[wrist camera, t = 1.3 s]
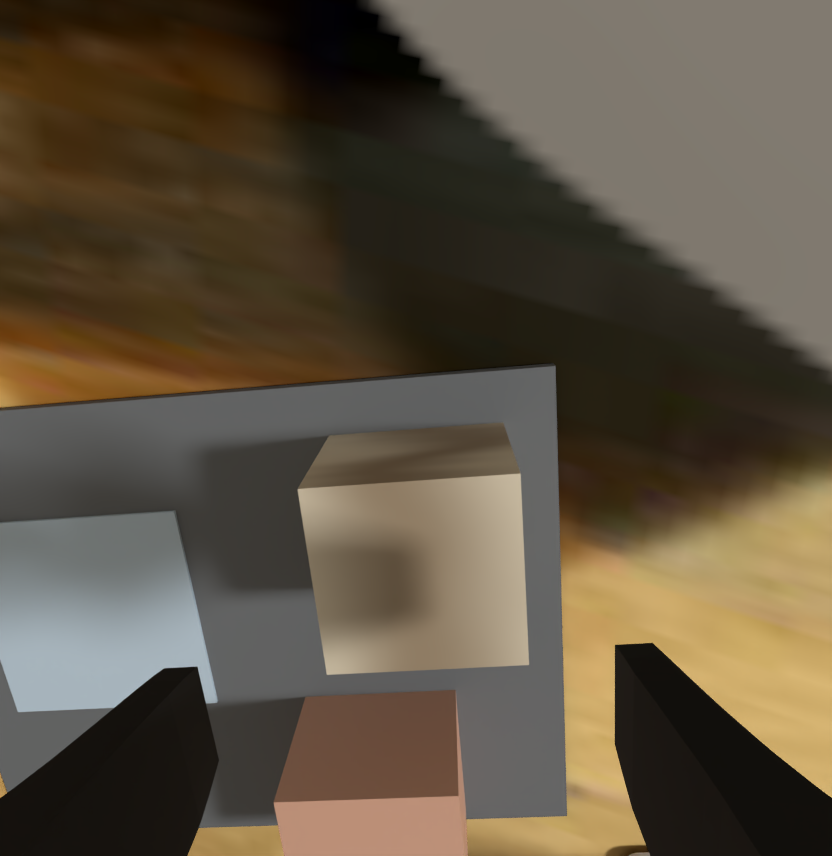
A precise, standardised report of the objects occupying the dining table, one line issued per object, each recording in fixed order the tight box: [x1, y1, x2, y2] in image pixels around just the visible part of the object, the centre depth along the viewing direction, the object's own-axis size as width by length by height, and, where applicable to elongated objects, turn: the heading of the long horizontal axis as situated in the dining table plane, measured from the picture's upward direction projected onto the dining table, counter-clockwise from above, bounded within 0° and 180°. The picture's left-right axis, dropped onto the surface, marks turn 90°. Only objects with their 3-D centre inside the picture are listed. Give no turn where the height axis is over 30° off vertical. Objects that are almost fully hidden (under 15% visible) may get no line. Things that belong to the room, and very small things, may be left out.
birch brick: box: [298, 423, 529, 675], centre depth 16 cm, size 5×5×4 cm
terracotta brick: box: [274, 690, 468, 856], centre depth 19 cm, size 5×5×4 cm
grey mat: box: [0, 363, 567, 828], centre depth 20 cm, size 20×16×1 cm
